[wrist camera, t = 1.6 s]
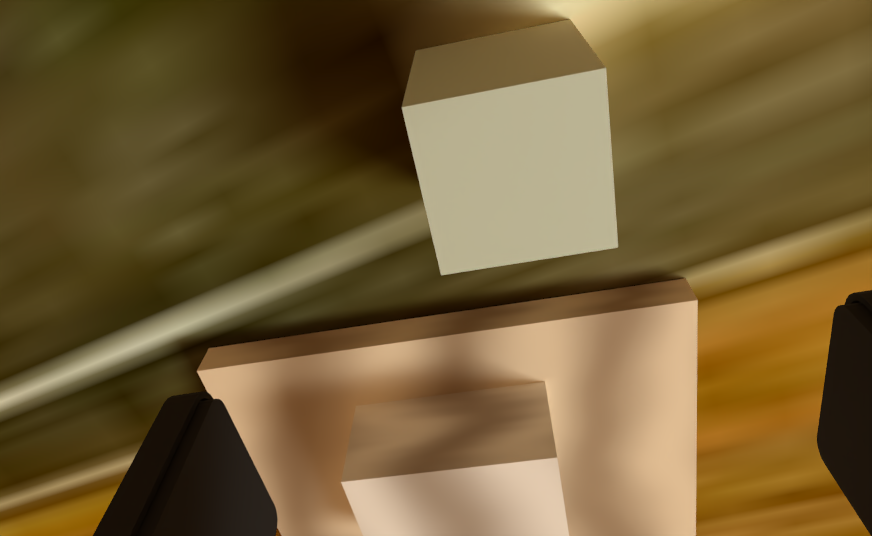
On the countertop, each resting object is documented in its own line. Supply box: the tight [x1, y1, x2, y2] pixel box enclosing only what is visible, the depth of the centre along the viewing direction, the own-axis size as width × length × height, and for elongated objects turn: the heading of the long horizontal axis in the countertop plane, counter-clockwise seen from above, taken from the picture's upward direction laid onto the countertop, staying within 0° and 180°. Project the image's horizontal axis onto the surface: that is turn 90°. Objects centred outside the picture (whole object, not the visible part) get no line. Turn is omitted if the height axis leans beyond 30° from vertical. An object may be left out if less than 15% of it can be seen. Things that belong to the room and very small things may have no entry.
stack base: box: [197, 278, 698, 536], centre depth 28 cm, size 20×14×6 cm
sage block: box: [402, 19, 618, 275], centre depth 20 cm, size 5×5×6 cm
